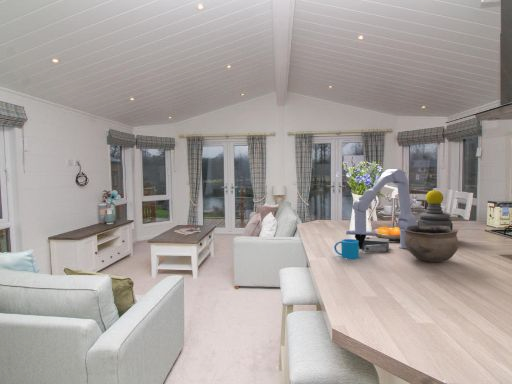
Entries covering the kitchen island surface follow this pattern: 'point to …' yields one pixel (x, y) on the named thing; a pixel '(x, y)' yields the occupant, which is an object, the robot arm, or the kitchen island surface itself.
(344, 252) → the mug
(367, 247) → the side door
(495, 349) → the kitchen island surface
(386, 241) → the camera body
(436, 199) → the decorative lamp
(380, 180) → the robot arm
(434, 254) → the ceramic bowl
